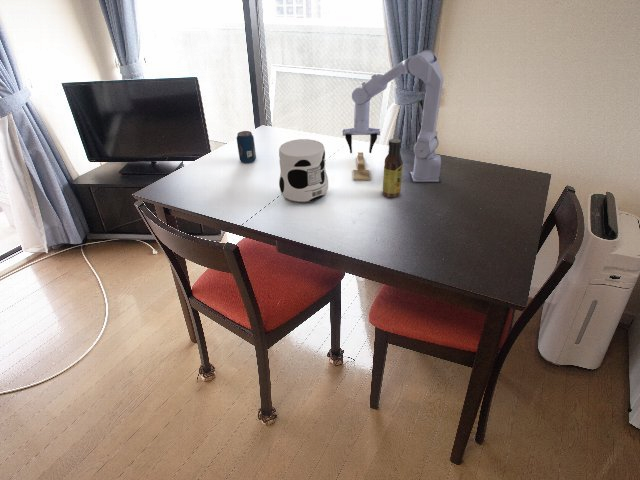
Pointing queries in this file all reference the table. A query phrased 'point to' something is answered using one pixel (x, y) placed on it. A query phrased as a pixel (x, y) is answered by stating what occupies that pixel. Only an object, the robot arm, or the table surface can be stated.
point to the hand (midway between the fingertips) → (360, 152)
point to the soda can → (246, 147)
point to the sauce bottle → (393, 170)
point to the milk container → (302, 170)
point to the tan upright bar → (361, 169)
